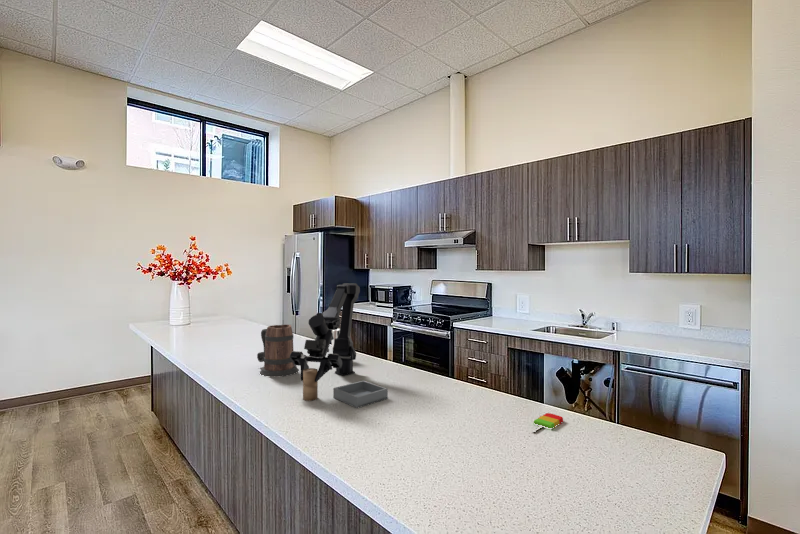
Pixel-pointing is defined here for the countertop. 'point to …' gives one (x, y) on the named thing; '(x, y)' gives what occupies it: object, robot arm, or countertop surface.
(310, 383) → the walnut cylinder
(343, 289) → the robot arm
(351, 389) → the tote
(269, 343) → the tankard
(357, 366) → the countertop surface
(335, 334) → the beer glass
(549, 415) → the popsicle
